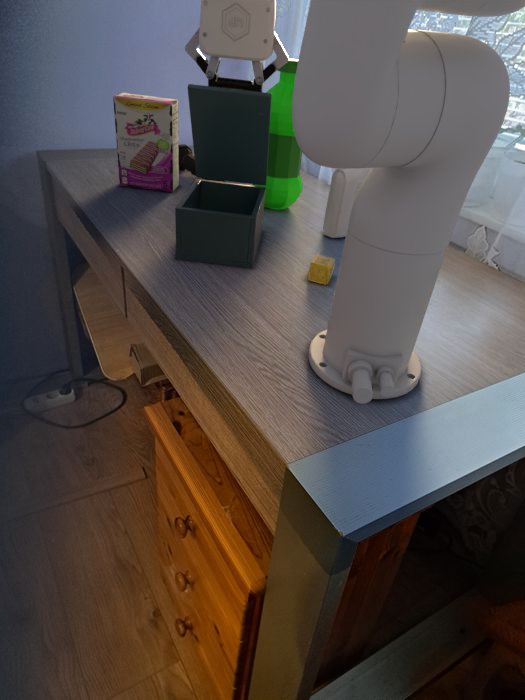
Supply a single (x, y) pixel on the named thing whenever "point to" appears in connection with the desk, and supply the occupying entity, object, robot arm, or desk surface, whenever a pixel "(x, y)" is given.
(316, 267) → the alphabet block
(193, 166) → the microphone
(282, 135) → the plastic bottle
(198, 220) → the dark green open box
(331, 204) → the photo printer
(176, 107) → the candy bar box
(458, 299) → the desk surface
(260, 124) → the lid
